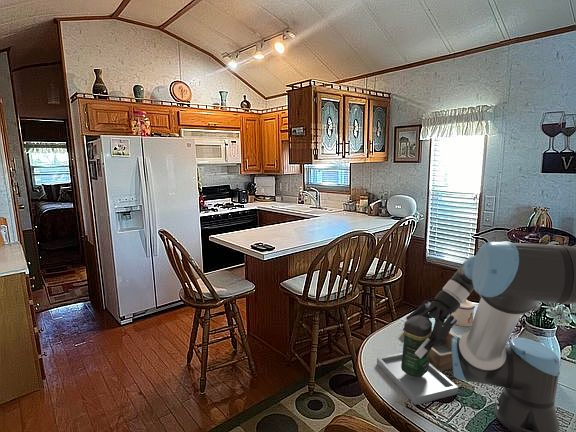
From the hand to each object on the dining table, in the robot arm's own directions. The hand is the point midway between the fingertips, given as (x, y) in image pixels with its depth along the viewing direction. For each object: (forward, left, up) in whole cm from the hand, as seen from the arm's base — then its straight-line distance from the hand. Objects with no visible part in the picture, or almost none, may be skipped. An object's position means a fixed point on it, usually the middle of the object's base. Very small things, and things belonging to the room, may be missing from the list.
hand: (408, 347), depth 117 cm
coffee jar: (0, -3, -9) cm, 10 cm away
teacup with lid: (+28, -49, -12) cm, 58 cm away
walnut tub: (+8, -21, -12) cm, 25 cm away
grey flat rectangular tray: (0, -3, -12) cm, 12 cm away
